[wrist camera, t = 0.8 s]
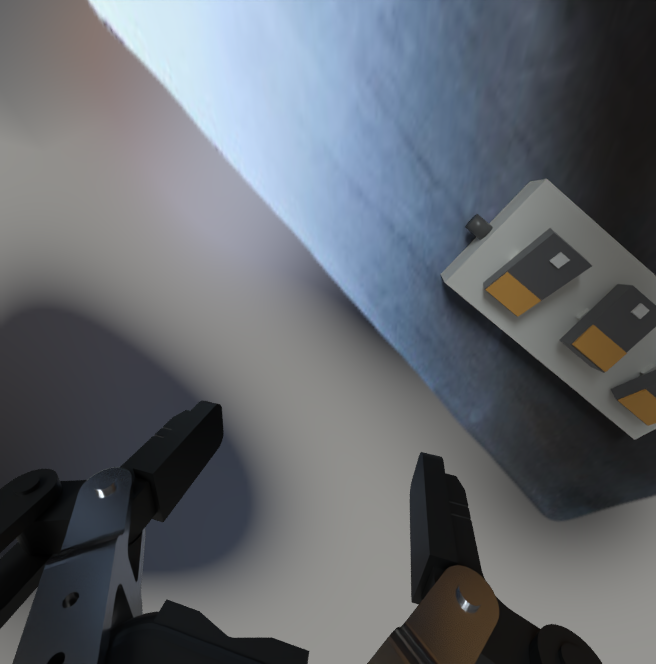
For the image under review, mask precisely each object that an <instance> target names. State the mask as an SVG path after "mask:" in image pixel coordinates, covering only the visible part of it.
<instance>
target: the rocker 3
mask: <svg viewBox="0 0 656 664" xmlns="http://www.w3.org/2000/svg"><path fill="white" fill-rule="evenodd" d="M610 390H611V391H612V393H613V395H614V397H615V399H616V400H617V401H618V402H619V403H621V404H622V405H623V406H624V407H625V408H627V409H628V410H629V411H630V412H631V413H633V414H634V415H635V416H636V417H637V418H639V419H640V420H641V421H642V422H643V423H645V424H646V425H648V426H649V425H652V424H655V423H656V370H654V371H651V372H649V373H647V374H644V375H642V376H640V377H637V378H635V379H633V380H630V381H628V382H626V383H623V384H621V385H619V386H616V387H614V388H612V389H610Z"/></svg>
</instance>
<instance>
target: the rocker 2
mask: <svg viewBox="0 0 656 664" xmlns="http://www.w3.org/2000/svg"><path fill="white" fill-rule="evenodd" d="M655 327H656V305H655V304H654V303H653V302H651V301H650V300H649V299H648V298H647V297H646V296H645V295H643V294H642V293H641V292H640V291H639V290H638V289H637V288H635V287H634V286H633V285H624V284H617V285H616V286H615V287H614V288H613V289H612V290H611V291H610V292H609V293H608V294H607V295H606V296H604V297H603V298H602V299H601V300H600V301H599V302H598V303H597V304H596V305H595V306H594V307H593V308H592V309H591V310H590V311H589V312H588V313H587V314H586V315H585V316H584V317H583V318H582V319H580V320H579V321H578V322H577V323H576V324H575V325H574V326H573V327H572V328H571V329H570V330H569V331H568V332H567V333H566V334H565V335H564V336H563V337H562V338H561V339H560V340H559V341H560V342H562V343H563V344H564V345H565V346H566V347H568V348H569V349H570V350H571V351H572V352H574V353H575V354H576V355H577V356H578V357H580V358H581V359H582V360H583V361H584V362H585V363H587V364H588V365H589V366H590V367H592V368H594V369H596V370H599V371H601V372H603V373H604V372H607V371H608V370H609V369H610V368H611V367H612V366H613V365H614V364H616V363H617V362H618V361H619V360H620V359H621V358H622V357H623V356H625V355H626V354H627V352H628V351H629V350H630V349H631V348H632V347H634V346H635V345H636V344H637V343H638V342H639V341H640V340H641V339H643V338H644V337H645V336H646V335H647V334H648V333H649V332H650V331H652V330H653V329H654V328H655Z"/></svg>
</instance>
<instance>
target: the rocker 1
mask: <svg viewBox="0 0 656 664" xmlns="http://www.w3.org/2000/svg"><path fill="white" fill-rule="evenodd" d="M590 267H592V265H591V264H590V263H589V262H588V261H587V259H585V258H584V257H583V256H582V255H581V254H580V253H578V252H577V251H576V250H575V249H574V248H573V247H572V246H570V245H569V244H568V243H567V242H566V241H565V240H564V239H562V238H561V237H560V236H559V235H558V234H557V233H556V232H554V231H553V230H552V229H551V228H549V229H548V230H547V231H545V232H544V233H543V234H542V235H541V236H539V237H538V238H537V239H536V240H534V241H533V242H532V243H531V244H530V245H528V246H527V247H526V248H525V249H523V250H522V251H521V252H520V253H519V254H517V255H516V256H515V257H514V258H513V259H511V260H510V261H509V262H508V263H506V264H505V265H504V266H503V267H502V268H500V269H499V270H498V271H497V272H495V273H494V274H493V275H492V276H491V277H489V278H488V279H487V280H486V281H485V282H483V285H484V290H486V291H487V292H488V293H489V294H490V295H492V296H493V297H494V298H495V299H496V300H498V301H499V302H500V303H501V304H502V305H504V306H505V307H506V308H507V309H508V310H510V311H511V312H512V313H513V314H514V315H515V316H517V317H518V316H520V315H521V314H523V313H524V312H526V311H527V310H529V309H530V308H532V307H533V306H534V305H536V304H537V303H539V302H540V301H542V300H543V299H545V298H546V297H548V296H549V295H551V294H552V293H554V292H555V291H556V290H558V289H559V288H561V287H562V286H564V285H565V284H567V283H568V282H570V281H571V280H573V279H574V278H576V277H577V276H579V275H580V274H581V273H583V272H584V271H586V270H587V269H589V268H590Z"/></svg>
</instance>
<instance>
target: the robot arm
mask: <svg viewBox="0 0 656 664" xmlns="http://www.w3.org/2000/svg"><path fill="white" fill-rule="evenodd" d="M222 439H223V419H222V407H221V405H220V404H216V403H212V402H207V401H200V402H199V403H198V404H197V405H196V406H195V407H194V408H193V409H192V410H191V411H188V410H185V411H183V412H182V413H180V414H178V415H176V416H174V417H173V418H172V419H170V420H169V421H168V422H167V423H166V424H165V425H164V426H163V428H161V429H160V430H159V431H158V432H157V433H156V434H155V436H153V437H151V439H149V441H147V442H146V443H145V444H144V445H143V446H142V447H141V448H140V449H139V450H138V451H137V452H136V453H135V454H133V455H132V456H131V457H130V458H129V459H128V460H127V461H126V462H125V463H124V464H123V465H122V466H121V467H114V468H109V469H106V470H103V471H100V472H98V473H96V474H95V475H93V476H92V477H90V478H89V479H88V480H79V481H78V480H77V481H60V480H59V478H58V475H57V473H56V472H55V471H54V470H51V469H38V470H34V471H30V472H28V473H25V474H23V475H21V476H19V477H17V478H15V479H13V480H12V481H10V482H9V483H8V484H6V485H5V486H4V487H2V488H1V489H0V553H1V552H2V551H3V550H4V549H5V548H6V547H7V546H8V545H9V544H10V543H11V542H12V541H13V540H14V539H17V541H18V543H17V544H16V545H14V546H13V547H12V548H11V549H10V550H9V551H8V552H7V553H6V554H5V555H4V556H3V557H2V558H1V559H0V628H1V627H2V626H3V625H4V624H5V623H6V622H7V621H8V620H9V618H10V617H11V616H12V615H13V614H14V613H15V612H16V611H17V609H18V608H19V607H20V606H21V605H22V604H23V603H24V601H25V600H26V599H27V598H28V597H29V596H30V594H31V593H32V592H33V591H34V590H35V589H36V588H37V587H38V588H37V591H36V594H35V598H34V600H33V603H32V606H31V610H30V612H29V616H28V618H27V621H26V624H25V627H24V630H23V634H22V636H21V640H20V643H19V645H18V648H17V652H16V655H15V658H14V661H13V664H308V656H309V651H307V650H305V649H302V648H299V647H296V646H294V645H291V644H288V643H285V642H283V641H280V640H277V639H274V638H232V637H228V636H227V635H226V634H225V633H223V632H222V631H221V630H220V629H219V628H218V627H217V626H215V625H214V624H213V623H212V622H211V621H210V620H209V619H207V618H206V617H205V616H204V615H203V614H202V613H200V611H197V610H194V609H192V608H188V607H186V606H183V605H181V604H178V603H175V602H172V601H170V600H166V601H165V603H164V604H163V606H162V608H161V610H160V611H159V612H152V613H146V614H143V615H142V599H141V582H142V569H143V557H144V544H145V527H146V525H147V524H148V523H149V522H150V520H151V519H154V520H157V521H161V522H164V521H165V519H166V518H167V517H168V515H169V514H170V513H171V511H172V510H173V509H174V507H175V506H176V504H177V503H178V502H179V501H180V499H181V498H182V497H183V495H184V494H185V492H186V491H187V490H188V488H189V487H190V486H191V484H192V483H193V482H194V480H195V479H196V478H197V476H198V475H199V474H200V472H201V471H202V470H203V468H204V467H205V466H206V464H207V463H208V461H209V460H210V459H211V458H212V456H213V455H214V454H215V452H216V451H217V449H218V448H219V446H220V444H221V442H222ZM410 539H411V540H410V541H411V597H412V602H413V603H416V604H419V605H418V606H417V608H416V609H415V610H414V612H413V613H412V614H411V615H410V617H409V618H408V619H407V621H406V622H405V623H404V624H403V625H402V626H401V627H398V628H396V629H395V630H394V631H393V632H392V633H391V635H390V636H389V637H388V638H387V640H386V641H385V642H384V643H383V644H382V646H381V647H380V648H379V650H378V651H377V652H376V654H375V655H374V656H373V657H372V658H371V660H370V661H369V662H368V663H367V664H602V662H601V661H600V659H599V658H598V656H597V655H596V654H595V653H594V651H593V650H592V649H591V648H590V647H589V646H588V645H587V644H586V642H584V641H583V640H582V639H581V638H580V637H579V636H577V635H576V634H575V633H573V632H572V631H570V630H568V629H567V628H564V627H562V626H559V625H554V624H550V625H546V626H544V627H543V628H542V629H540V628H538V627H536V626H535V625H533V624H532V623H530V622H529V621H527V620H526V619H524V618H522V617H521V616H519V615H518V614H516V613H515V612H513V611H512V610H510V609H509V608H508V607H506V606H505V605H504V604H503V603H502V602H501V601H500V600H499V599H498V598H497V597H496V596H495V594H494V592H493V590H492V589H491V587H490V585H489V584H488V583H487V582H486V580H485V578H484V576H483V573H482V570H481V565H480V561H479V555H478V551H477V546H476V541H475V537H474V532H473V526H472V522H471V520H470V512H469V508H468V503H467V498H466V493H465V490H464V488H463V486H462V485H461V483H460V482H459V480H458V479H457V477H456V476H454V475H450V474H445V469H444V462H443V458H442V457H440V456H435V455H431V454H427V453H423V452H421V453H420V455H419V458H418V462H417V465H416V468H415V472H414V475H413V479H412V483H411V489H410Z"/></svg>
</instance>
